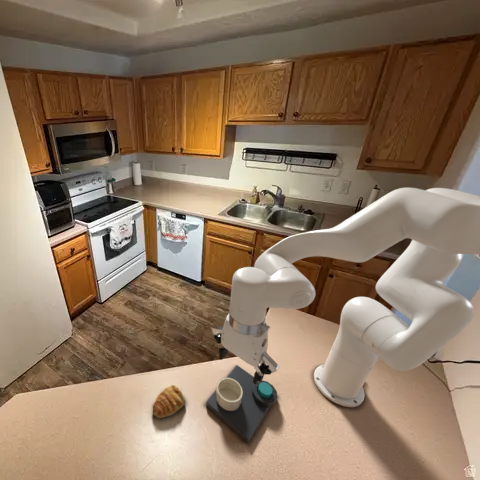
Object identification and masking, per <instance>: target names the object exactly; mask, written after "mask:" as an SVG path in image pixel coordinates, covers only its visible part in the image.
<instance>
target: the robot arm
mask: <svg viewBox="0 0 480 480" xmlns="http://www.w3.org/2000/svg"><path fill="white" fill-rule="evenodd" d="M405 239H410V240H411V241H410V244H409V245H408V246H407V248H406V249H405V250H404V251H403V252H402V253H401V254H400V255H399V256H398V258H397V259H396V260H395V261H394V262H393V263H392V264H391V265H390V267H388V269H387V270H386V271H385V272H384V273H383V274H382V275H381V276H380V278H379V279H378V280H377V282H376V283H375V291H376V293H377V295H378V296H379V297H380V298H382V299H383V300H384V301H385V302H386V303H388V304H389V305H390V306H392V307H393V308H394V309H395V310H397V311H398V312H400V313H401V314H402V315H403V316H405V317H406V318H408V319H409V320H410V321H411V323H410V325H409V324H408V323H406V322H405V321H404V320H403V319H402V318H400V317H399V316H398V315H397V314H396V313H394V312H393V311H392V310H390V309H389V308H388V307H387V306H385V305H384V304H382V303H381V302H379V301H377V300H376V299H374V298H372V297H368V296H356V297H353V298H351V299H349V300H348V301H347V302H346V303H345V304H344V305H343V307H342V309H341V312H340V319H339V320H340V321H339V328H338V331H337V334H336V337H335V339H334V341H333V343H332V346H331V348H330V351H329V353H328V355H327V358H326V360H325V362H324V364H321V365H319V366H317V367H316V369H315V370H314V372H313V380H314V384H315V386H316V387H317V389H318V390H319V392H321V394H322V395H323V396H324V397H325V398H327V399H328V400H330V401H331V402H333V403H335V404H336V405H338V406H341V407H346V408H355V407H359V406H360V405H361V404H362V403H363V402H364V399H365V391H364V390H365V389H364V387H363V386H364V384H365V383H366V380H367V379H368V377H369V376H370V374H371V372H372V370H373V368H374V366H375V364H377V362H378V360H379V359H380V360H381V361H382V362H383V363H384V364H386V365H387V366H388V367H390V368H392V369H393V370H395V371H399V372H407V371H411V370H414V369H416V368H418V367H420V366H421V365H422V364H424V363H425V362H427V360H429V359H430V358H431V357H433V356H434V355H435V354H436V353H437V352H438V351H439V350H441V349H442V348H444V346H446V345H447V344H448V343H449V342H450V341H452V340H453V339H454V338H456V337H457V336H458V335H459V334H460V333H461V332H462V331H463V330H464V329H466V328H467V326H469V324H470V323H471V322H472V319H473V317H474V314H475V309H474V305H473V303H472V302H471V301H470V300H469V299H467V298H466V297H465V296H464V295H462V294H461V293H459V292H457V291H455V290H453V289H452V288H450V287H448V286H446V285H444V282H445V281H446V280H447V279H448V278H449V277H450V275H451V274H453V272H454V271H455V270H457V268H458V267H459V266H460V265H461V263H462V259H463V255H479V256H480V195H477V194H473V193H470V192H466V191H462V190H457V189H452V188H445V187H432V188H428V189H422V188H417V187H399V188H397V189H393V190H392V191H390V192H388V193H386V194H385V195H383V196H381V197H380V198H378V199H377V200H375V201H373V202H372V203H370V204H369V205H367V206H366V207H364V208H362V209H361V210H359V211H358V212H356V213H354V214H352V215H351V216H350V217H348V218H347V219H344V220H343V221H342V222H340V223H339V224H337V225H335V226H333V227H330V228H323V229H316V230H310V231H305V232H301V233H296V234H293V235H290V236H288V237H285V238H283V239H281V240H280V241H278V242H277V243H275V244H274V245H272V246H271V247H269V248H267V249H266V250H265V251H263V252H262V253H261V254H260V255H259V256H258V257H257V259H256V260H255V262H254V265H253V266H254V267H253V266H244V267H239V269H237V270H236V271H234V273H233V276H232V279H231V290H230V302H229V309H228V310H229V311H228V314H227V315H226V317H225V320H224V323H223V326H220V325H213V326H212V327H211V332H212V335H213V338H214V340H215V342H216V345H217V348H218V354H219V355H218V359H219V360H220V361H223V359H224V358H225V357H226V356H227V355H228V353H229V352H230V353H231V354H233V355H235V356H236V357H237V358H239V359H240V360H242V361H244V363H247V365H250V366H252V367H253V368H254V370H255V372H254V374H253V377H254V379H253V383H254V384H255V385H256V384H257V382H258V381H260V382H261V381H262V380H263V379H264V377H265V375H271V374H273V373H276V372H278V370H279V369H280V365H279V364H278V363H277V362H276V361H275V360H274V359H273V358H272V356H271V355H269V354H268V347H269V345H268V344H269V334H268V333H269V332H270V330H271V326H270V325H268V324H267V323H266V321H267V318H266V315H267V309H280V310H300V309H303V308H307V307H308V306H310V305H311V304H312V303H313V302H314V300H315V297H316V289H315V286H314V285H313V283H312V282H311V281H310V280H309V279H308V278H307V277H306V276H305V275H304V274H303V273H302V272H300V270H299V269H298V268H297V267H296V266H295V265H294V263H295V262H298V261H299V260H303V259H306V258H310V257H311V258H312V257H324V258H329V259H336V260H340V261H346V262H352V263H365V262H367V261H369V260H371V259H372V258H374V257H376V256H378V255H379V254H381V253H382V252H384V251H386V250H388V249H389V248H391V247H393V246H394V245H396V244H398V243H400V242H402V241H404V240H405Z"/></svg>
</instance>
